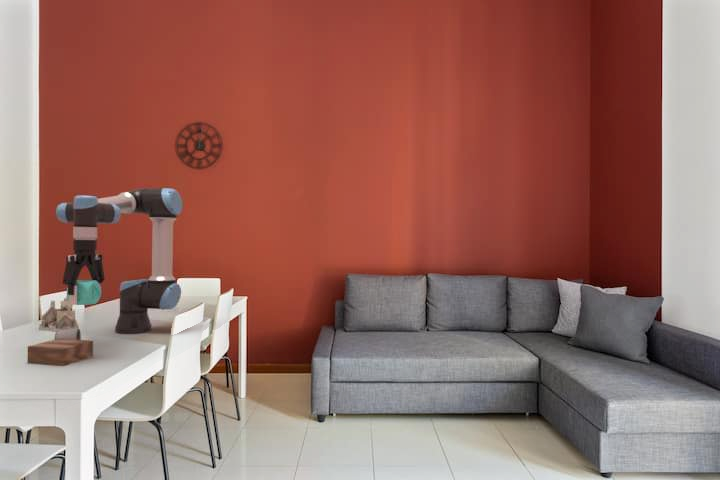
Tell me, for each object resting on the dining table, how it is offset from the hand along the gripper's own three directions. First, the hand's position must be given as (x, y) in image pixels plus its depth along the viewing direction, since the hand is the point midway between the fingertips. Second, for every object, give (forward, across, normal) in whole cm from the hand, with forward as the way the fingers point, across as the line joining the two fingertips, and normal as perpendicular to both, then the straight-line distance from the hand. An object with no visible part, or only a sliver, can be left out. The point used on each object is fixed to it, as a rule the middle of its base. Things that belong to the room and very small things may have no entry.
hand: (84, 302), depth 182 cm
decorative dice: (+1, 0, 0) cm, 1 cm away
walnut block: (+20, +4, -5) cm, 21 cm away
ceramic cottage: (+20, -38, -53) cm, 68 cm away
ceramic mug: (+20, -9, -17) cm, 28 cm away
